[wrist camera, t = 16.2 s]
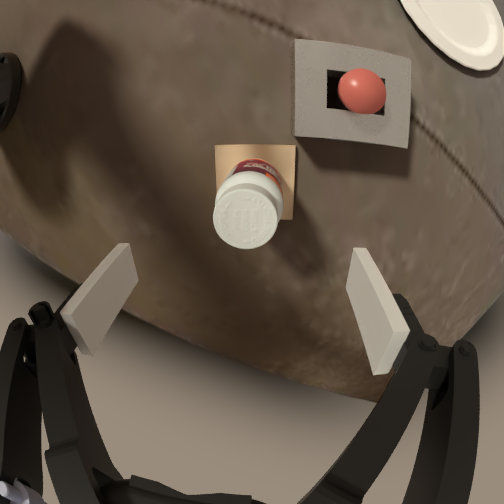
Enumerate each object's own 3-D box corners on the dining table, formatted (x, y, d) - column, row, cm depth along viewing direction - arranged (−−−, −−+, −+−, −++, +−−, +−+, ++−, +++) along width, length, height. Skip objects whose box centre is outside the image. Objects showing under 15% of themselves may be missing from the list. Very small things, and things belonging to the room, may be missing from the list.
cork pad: (219, 216, 34) (218, 218, 34) (215, 145, 30) (214, 145, 29) (292, 218, 34) (292, 219, 33) (294, 145, 29) (295, 145, 29)
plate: (477, 99, 23) (485, 100, 21) (361, -6, 19) (365, -10, 17) (509, 24, 13) (515, 23, 12) (412, -67, 9) (416, -71, 8)
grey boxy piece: (290, 134, 29) (294, 138, 24) (290, 49, 24) (294, 39, 19) (389, 143, 28) (407, 150, 24) (391, 64, 23) (410, 59, 19)
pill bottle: (290, 170, 30) (299, 202, 20) (267, 215, 33) (265, 265, 23) (240, 148, 29) (223, 169, 20) (220, 195, 32) (196, 237, 22)
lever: (326, 110, 26) (340, 111, 21) (327, 73, 24) (340, 64, 19) (364, 115, 26) (385, 117, 20) (365, 78, 24) (386, 73, 18)
